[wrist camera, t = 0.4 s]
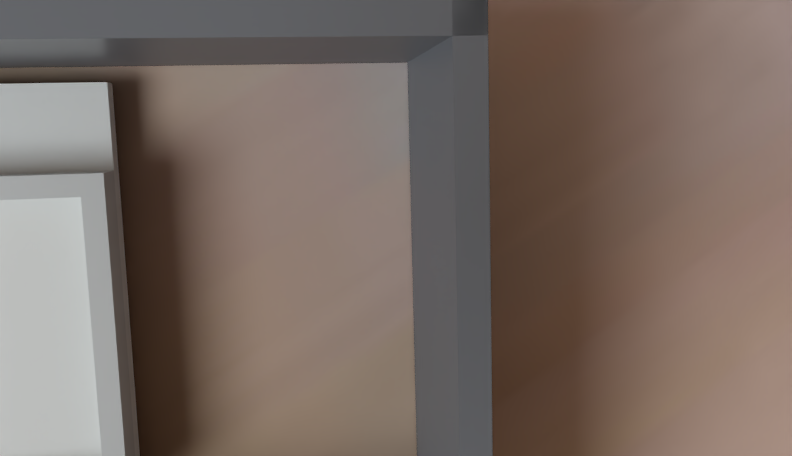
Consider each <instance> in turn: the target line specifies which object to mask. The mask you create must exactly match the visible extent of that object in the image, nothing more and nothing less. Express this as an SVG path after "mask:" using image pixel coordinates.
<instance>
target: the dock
mask: <svg viewBox="0 0 792 456" xmlns="http://www.w3.org/2000/svg"><path fill="white" fill-rule="evenodd" d="M403 62H408V101H409V143H410V184H411V226H412V267H413V308H414V350H415V391H416V433H417V456H493V453H492V357H491V261H490V166H489V70H488V0H0V68H20V67H97V66H173V65H250V64H326V63H403Z"/></svg>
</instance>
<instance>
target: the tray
mask: <svg viewBox="0 0 792 456" xmlns="http://www.w3.org/2000/svg"><path fill="white" fill-rule="evenodd" d="M0 456H140V451H139V437H138V424H137V410H136V397H135V383H134V370H133V356H132V343H131V330H130V316H129V303H128V289H127V276H126V262H125V249H124V236H123V222H122V209H121V195H120V182H119V168H118V155H117V141H116V128H115V115H114V101H113V88H112V83H109V82H80V83H17V84H0Z"/></svg>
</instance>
